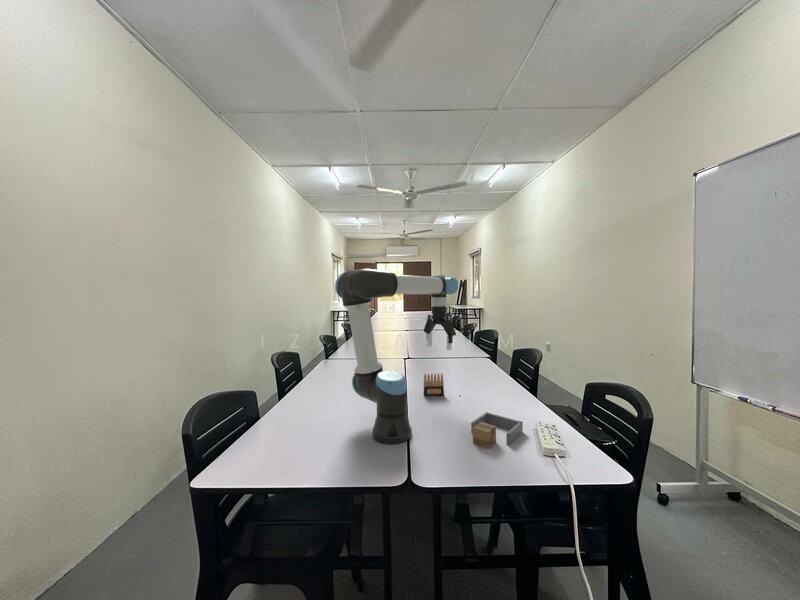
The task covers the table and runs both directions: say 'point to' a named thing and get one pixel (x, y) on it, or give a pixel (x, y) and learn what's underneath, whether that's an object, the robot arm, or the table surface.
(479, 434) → the block
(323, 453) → the table surface
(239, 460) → the table surface
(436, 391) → the ammunition clip
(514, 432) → the corral
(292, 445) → the table surface
